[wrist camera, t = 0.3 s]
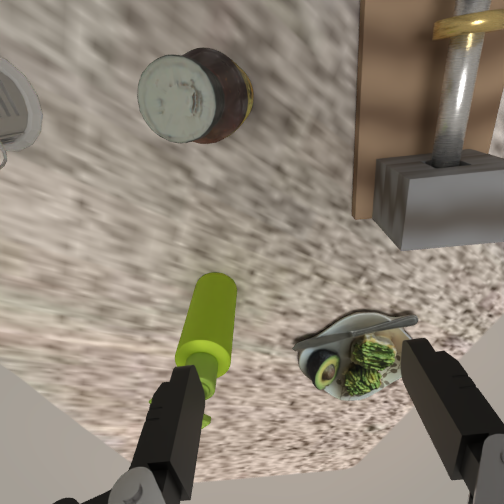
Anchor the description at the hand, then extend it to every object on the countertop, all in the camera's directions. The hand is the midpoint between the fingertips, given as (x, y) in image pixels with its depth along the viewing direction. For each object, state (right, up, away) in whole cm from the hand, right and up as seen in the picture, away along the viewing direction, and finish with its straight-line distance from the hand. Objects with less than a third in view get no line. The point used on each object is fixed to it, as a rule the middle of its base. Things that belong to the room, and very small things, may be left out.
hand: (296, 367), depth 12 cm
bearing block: (+16, +19, +22) cm, 33 cm away
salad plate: (+14, -12, +39) cm, 43 cm away
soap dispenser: (-7, -1, +33) cm, 33 cm away
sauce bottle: (-5, +21, +21) cm, 30 cm away
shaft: (+16, +20, +17) cm, 31 cm away
